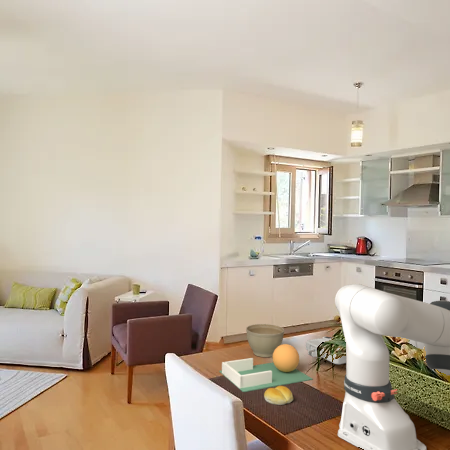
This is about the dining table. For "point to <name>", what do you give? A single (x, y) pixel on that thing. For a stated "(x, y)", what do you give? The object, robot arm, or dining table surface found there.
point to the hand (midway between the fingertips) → (310, 353)
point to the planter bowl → (264, 338)
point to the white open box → (248, 380)
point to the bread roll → (278, 395)
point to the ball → (285, 358)
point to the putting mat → (273, 376)
